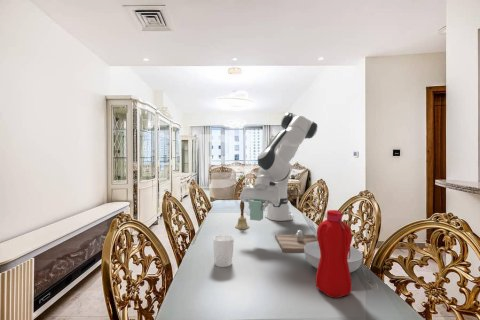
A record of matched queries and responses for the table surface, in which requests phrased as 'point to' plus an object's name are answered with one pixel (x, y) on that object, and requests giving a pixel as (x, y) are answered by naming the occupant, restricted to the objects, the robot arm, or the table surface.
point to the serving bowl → (314, 256)
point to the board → (294, 242)
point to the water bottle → (334, 255)
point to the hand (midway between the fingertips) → (256, 209)
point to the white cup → (223, 250)
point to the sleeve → (256, 210)
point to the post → (299, 236)
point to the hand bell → (242, 219)
